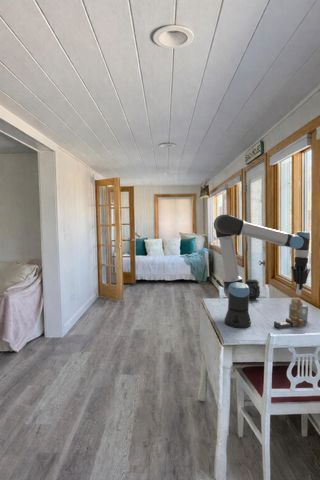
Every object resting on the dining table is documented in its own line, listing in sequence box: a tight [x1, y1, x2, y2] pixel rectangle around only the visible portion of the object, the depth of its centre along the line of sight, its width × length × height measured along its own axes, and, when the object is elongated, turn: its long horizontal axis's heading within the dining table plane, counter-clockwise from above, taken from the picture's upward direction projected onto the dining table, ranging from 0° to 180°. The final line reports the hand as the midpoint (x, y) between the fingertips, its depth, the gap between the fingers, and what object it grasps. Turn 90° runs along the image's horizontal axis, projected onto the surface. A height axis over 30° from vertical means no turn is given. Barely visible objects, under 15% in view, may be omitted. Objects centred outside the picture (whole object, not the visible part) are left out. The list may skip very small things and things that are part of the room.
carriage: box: [285, 297, 305, 328], centre depth 183 cm, size 8×6×15 cm
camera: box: [245, 279, 261, 301], centre depth 241 cm, size 10×10×15 cm
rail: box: [273, 318, 307, 330], centre depth 182 cm, size 20×4×3 cm, turn 111°
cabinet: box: [288, 303, 309, 322], centre depth 194 cm, size 8×8×9 cm
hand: (298, 294), depth 194 cm, fingers closed
